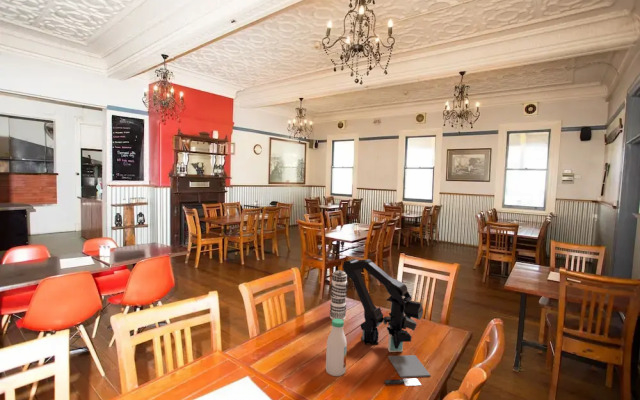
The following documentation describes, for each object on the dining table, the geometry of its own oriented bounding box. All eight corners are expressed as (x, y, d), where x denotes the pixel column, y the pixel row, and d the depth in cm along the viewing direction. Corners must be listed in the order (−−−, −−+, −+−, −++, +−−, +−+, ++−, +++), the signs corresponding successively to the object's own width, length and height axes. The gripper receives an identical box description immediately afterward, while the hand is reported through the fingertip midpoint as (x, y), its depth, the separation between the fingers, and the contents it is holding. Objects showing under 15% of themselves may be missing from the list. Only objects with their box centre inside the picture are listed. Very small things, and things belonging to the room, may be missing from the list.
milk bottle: (339, 379, 121) (342, 327, 120) (321, 372, 125) (324, 321, 124) (348, 369, 127) (351, 319, 126) (331, 362, 132) (334, 314, 130)
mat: (400, 377, 124) (400, 376, 123) (388, 357, 137) (388, 356, 137) (430, 376, 125) (430, 374, 125) (415, 356, 139) (415, 355, 139)
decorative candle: (349, 317, 176) (352, 271, 174) (339, 322, 169) (341, 275, 167) (336, 312, 182) (338, 268, 180) (325, 317, 174) (327, 271, 173)
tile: (389, 352, 142) (390, 336, 141) (387, 349, 144) (388, 334, 143) (402, 351, 142) (403, 336, 142) (400, 349, 144) (401, 333, 144)
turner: (387, 387, 118) (387, 384, 118) (383, 380, 122) (383, 377, 122) (421, 385, 119) (421, 383, 119) (416, 378, 123) (416, 376, 123)
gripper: (424, 321, 134) (422, 358, 135) (406, 304, 152) (404, 336, 153) (398, 322, 132) (396, 359, 133) (383, 304, 151) (381, 336, 152)
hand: (395, 347), depth 143 cm, fingers closed on tile, 2 cm apart
